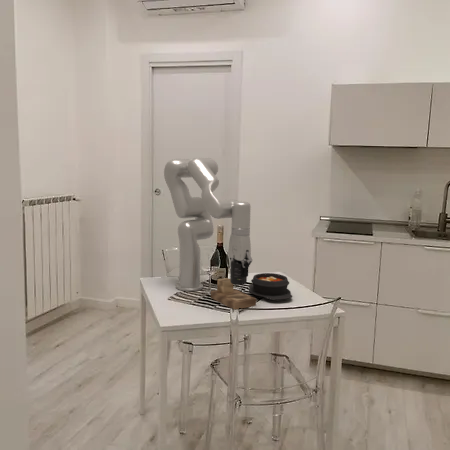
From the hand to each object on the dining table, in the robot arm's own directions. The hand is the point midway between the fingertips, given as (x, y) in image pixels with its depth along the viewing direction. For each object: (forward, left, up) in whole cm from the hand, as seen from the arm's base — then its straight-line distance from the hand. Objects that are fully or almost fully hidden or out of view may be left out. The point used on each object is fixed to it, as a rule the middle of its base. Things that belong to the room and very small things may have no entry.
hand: (239, 274), depth 193 cm
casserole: (-4, +20, -13) cm, 24 cm away
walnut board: (-4, 0, -13) cm, 13 cm away
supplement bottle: (0, 0, -4) cm, 4 cm away
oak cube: (-10, 0, -10) cm, 14 cm away
